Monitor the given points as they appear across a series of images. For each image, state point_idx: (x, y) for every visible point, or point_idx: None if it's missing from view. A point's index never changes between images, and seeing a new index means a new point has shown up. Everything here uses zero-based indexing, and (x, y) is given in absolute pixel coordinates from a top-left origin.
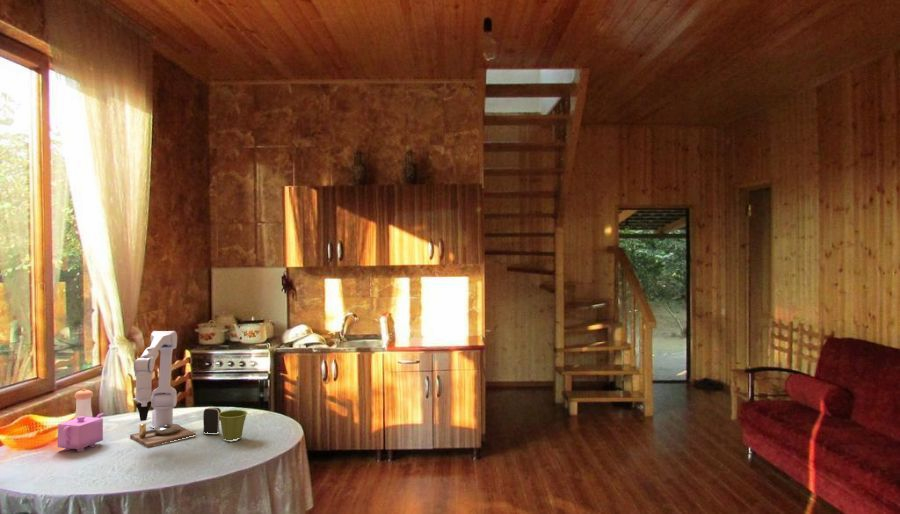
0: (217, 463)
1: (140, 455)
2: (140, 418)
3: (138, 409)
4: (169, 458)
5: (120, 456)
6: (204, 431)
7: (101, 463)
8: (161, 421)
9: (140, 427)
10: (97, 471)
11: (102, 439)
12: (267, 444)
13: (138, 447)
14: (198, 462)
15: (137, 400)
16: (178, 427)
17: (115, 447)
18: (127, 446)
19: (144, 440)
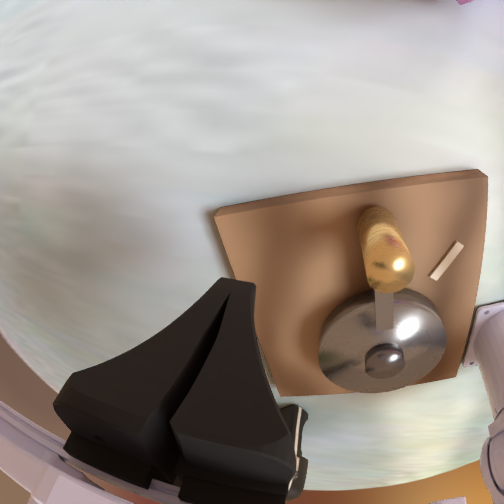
0: (22, 325)
1: (105, 163)
2: (208, 292)
3: (116, 360)
4: (53, 254)
5: (124, 72)
6: (289, 414)
7: (68, 7)
8: (497, 350)
9: (377, 245)
10: (4, 25)
11: (461, 1)
12: None
13: (249, 167)
14: (25, 301)
15: (12, 467)
16: (338, 385)
17: (329, 47)
18: (309, 113)
19: (299, 217)
